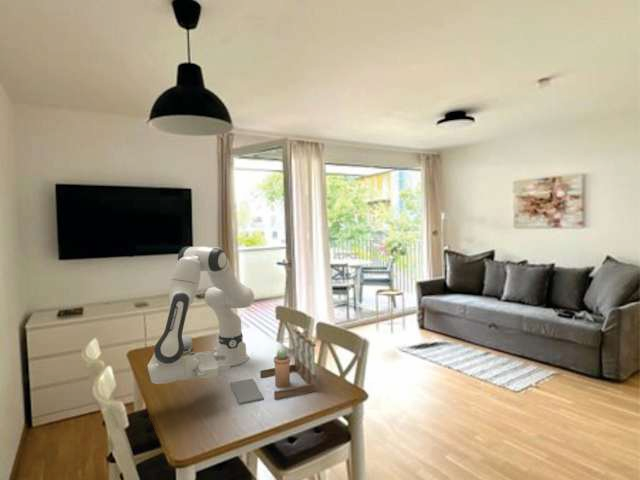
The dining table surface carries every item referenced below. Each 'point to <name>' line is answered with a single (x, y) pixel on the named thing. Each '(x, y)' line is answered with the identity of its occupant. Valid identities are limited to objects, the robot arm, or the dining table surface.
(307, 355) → the brown wooden frame
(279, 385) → the seedling pot
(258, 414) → the dining table surface
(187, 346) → the ceramic mug
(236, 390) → the potting mat
